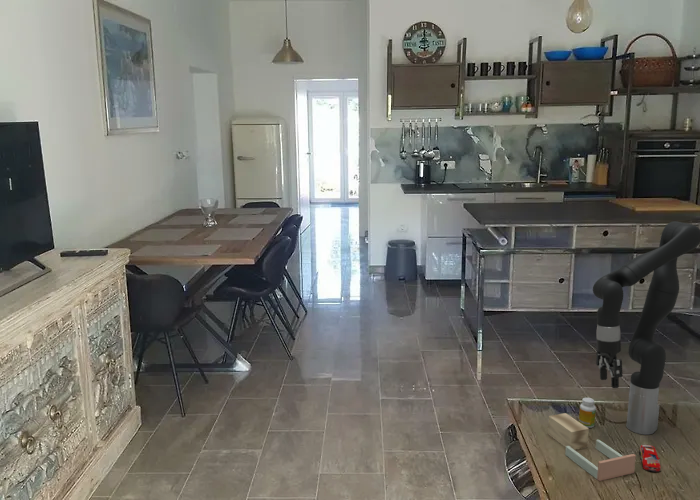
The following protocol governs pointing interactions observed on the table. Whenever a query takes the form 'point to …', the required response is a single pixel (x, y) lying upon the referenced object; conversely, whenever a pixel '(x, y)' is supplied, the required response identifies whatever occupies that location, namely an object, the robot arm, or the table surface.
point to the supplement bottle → (587, 412)
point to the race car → (649, 458)
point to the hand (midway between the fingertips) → (609, 383)
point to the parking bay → (604, 462)
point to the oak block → (568, 431)
